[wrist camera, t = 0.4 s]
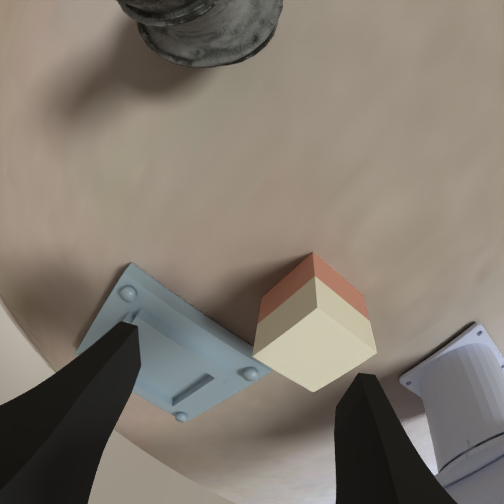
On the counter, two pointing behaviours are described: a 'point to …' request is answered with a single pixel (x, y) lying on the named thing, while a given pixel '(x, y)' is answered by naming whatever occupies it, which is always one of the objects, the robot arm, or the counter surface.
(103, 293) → the counter surface
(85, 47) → the counter surface
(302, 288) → the cream and red block
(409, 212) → the counter surface
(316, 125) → the counter surface
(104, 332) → the base plate
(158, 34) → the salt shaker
